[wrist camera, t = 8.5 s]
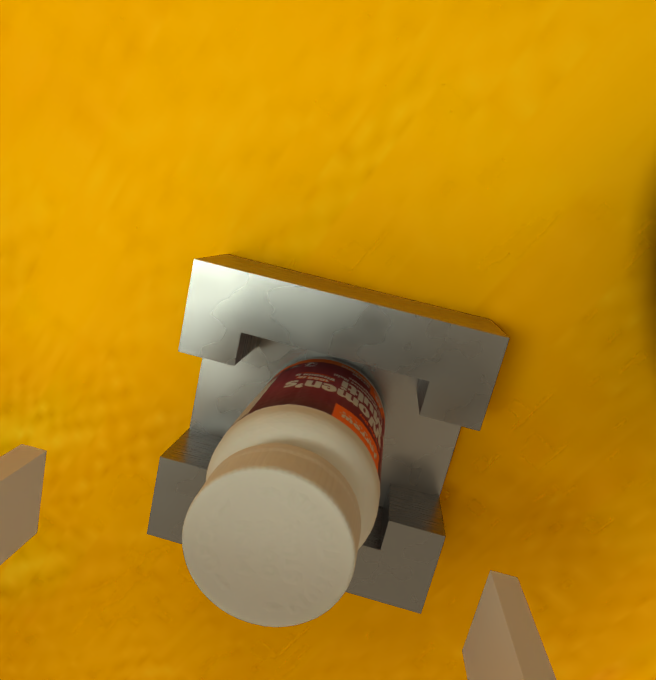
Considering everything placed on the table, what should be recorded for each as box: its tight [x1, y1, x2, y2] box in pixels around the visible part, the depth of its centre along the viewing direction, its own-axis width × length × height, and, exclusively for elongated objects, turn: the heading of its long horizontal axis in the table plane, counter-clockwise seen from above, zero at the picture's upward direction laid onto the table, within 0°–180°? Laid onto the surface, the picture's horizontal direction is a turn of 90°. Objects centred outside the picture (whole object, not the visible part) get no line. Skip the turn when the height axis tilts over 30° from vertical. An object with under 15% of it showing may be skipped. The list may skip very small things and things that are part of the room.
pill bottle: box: [182, 357, 385, 627], centre depth 21 cm, size 6×6×11 cm
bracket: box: [147, 254, 509, 614], centre depth 25 cm, size 13×13×4 cm
